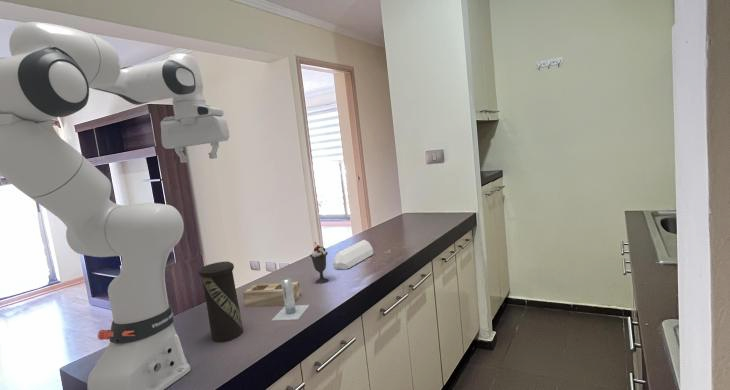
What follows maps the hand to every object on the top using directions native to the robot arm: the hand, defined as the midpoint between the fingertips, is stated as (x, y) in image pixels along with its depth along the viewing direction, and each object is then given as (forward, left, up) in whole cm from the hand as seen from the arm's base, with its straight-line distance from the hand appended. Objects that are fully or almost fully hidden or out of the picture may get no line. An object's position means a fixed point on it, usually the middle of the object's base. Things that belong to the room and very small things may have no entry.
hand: (199, 160), depth 115 cm
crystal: (+50, -30, -48) cm, 76 cm away
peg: (-1, -22, -48) cm, 52 cm away
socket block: (+9, -12, -48) cm, 50 cm away
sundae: (+27, -23, -48) cm, 60 cm away
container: (-14, -9, -48) cm, 51 cm away
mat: (-1, -22, -48) cm, 53 cm away
